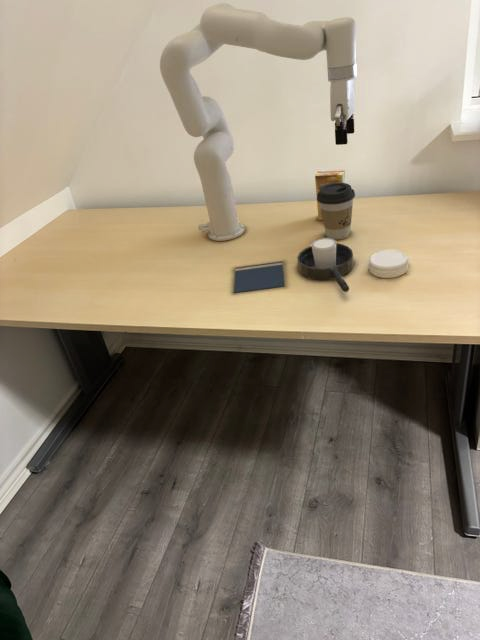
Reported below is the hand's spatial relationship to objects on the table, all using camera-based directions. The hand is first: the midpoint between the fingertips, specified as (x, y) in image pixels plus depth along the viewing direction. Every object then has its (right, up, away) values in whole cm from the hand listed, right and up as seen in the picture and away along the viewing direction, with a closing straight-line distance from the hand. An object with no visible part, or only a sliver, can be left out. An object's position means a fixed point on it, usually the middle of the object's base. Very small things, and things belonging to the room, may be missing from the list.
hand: (345, 138), depth 141 cm
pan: (-6, -36, 0) cm, 36 cm away
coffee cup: (+1, -25, +15) cm, 29 cm away
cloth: (-24, -39, +1) cm, 46 cm away
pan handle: (-4, -41, -12) cm, 43 cm away
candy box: (+1, -17, +26) cm, 31 cm away
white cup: (-6, -36, 0) cm, 36 cm away
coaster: (+10, -38, -7) cm, 40 cm away
